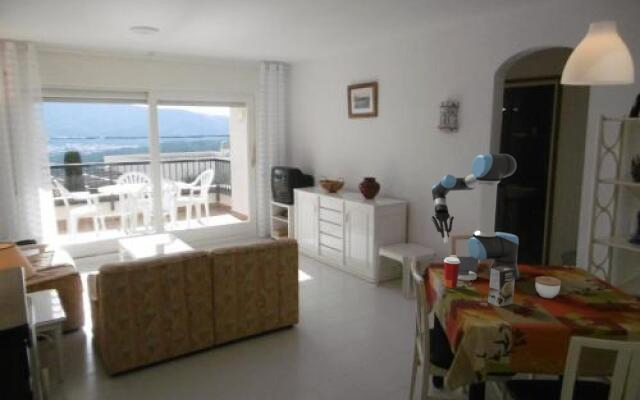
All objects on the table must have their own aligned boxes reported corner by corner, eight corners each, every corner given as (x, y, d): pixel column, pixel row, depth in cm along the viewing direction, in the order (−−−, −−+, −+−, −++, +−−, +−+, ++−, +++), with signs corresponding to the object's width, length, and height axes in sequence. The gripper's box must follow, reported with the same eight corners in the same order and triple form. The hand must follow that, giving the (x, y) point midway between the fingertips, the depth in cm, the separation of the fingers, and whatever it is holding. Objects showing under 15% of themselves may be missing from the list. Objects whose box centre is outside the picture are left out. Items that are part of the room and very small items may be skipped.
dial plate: (480, 276, 239) (481, 272, 239) (470, 282, 228) (470, 279, 228) (455, 270, 248) (456, 267, 248) (444, 276, 237) (444, 273, 237)
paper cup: (457, 284, 226) (458, 257, 224) (460, 289, 219) (462, 261, 216) (441, 283, 227) (442, 256, 225) (443, 288, 219) (445, 260, 217)
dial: (474, 271, 241) (475, 254, 239) (478, 275, 235) (479, 257, 233) (448, 271, 241) (449, 254, 239) (451, 274, 235) (452, 257, 233)
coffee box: (499, 307, 197) (501, 271, 195) (487, 302, 203) (490, 267, 200) (513, 303, 201) (516, 269, 199) (501, 298, 207) (504, 265, 204)
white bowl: (536, 290, 219) (538, 271, 218) (561, 295, 213) (562, 275, 212) (531, 296, 210) (533, 277, 209) (557, 301, 204) (559, 282, 203)
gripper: (450, 211, 268) (456, 245, 254) (428, 210, 268) (433, 245, 255) (453, 204, 262) (459, 239, 248) (431, 203, 262) (436, 238, 248)
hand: (446, 242), depth 251 cm, fingers closed
